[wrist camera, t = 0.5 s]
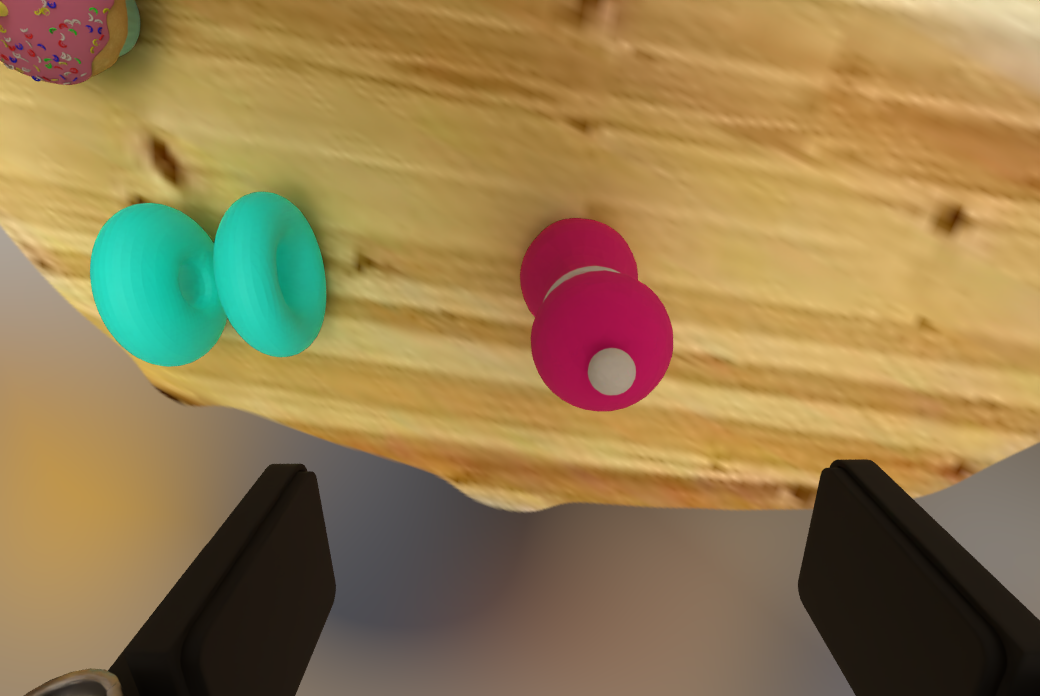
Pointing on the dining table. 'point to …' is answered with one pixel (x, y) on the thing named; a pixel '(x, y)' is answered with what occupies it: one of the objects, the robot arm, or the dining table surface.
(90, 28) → the cupcake
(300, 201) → the dining table surface
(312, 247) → the turquoise spool shape
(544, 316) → the pepper mill
